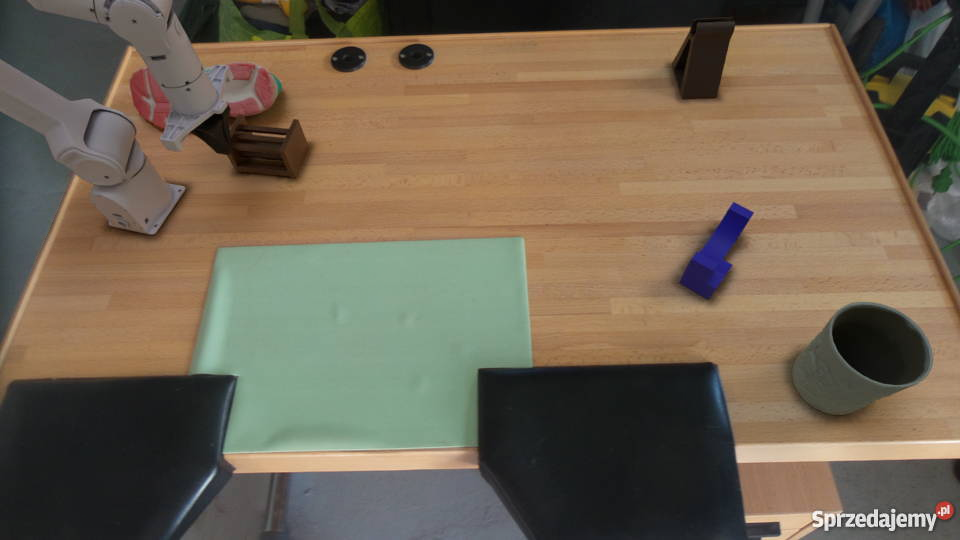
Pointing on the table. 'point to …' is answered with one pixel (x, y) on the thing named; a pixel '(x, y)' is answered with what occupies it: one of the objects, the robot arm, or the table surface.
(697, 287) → the blue angled block
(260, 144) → the shoe rack
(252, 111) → the athletic shoe
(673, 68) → the phone stand
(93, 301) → the table surface
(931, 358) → the grey plant pot
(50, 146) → the robot arm
